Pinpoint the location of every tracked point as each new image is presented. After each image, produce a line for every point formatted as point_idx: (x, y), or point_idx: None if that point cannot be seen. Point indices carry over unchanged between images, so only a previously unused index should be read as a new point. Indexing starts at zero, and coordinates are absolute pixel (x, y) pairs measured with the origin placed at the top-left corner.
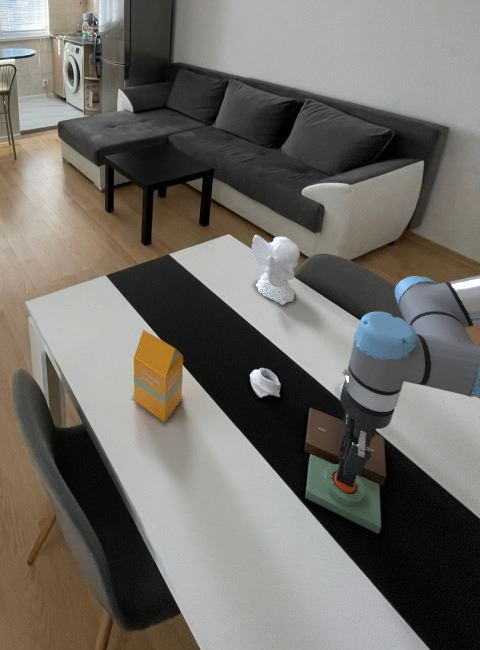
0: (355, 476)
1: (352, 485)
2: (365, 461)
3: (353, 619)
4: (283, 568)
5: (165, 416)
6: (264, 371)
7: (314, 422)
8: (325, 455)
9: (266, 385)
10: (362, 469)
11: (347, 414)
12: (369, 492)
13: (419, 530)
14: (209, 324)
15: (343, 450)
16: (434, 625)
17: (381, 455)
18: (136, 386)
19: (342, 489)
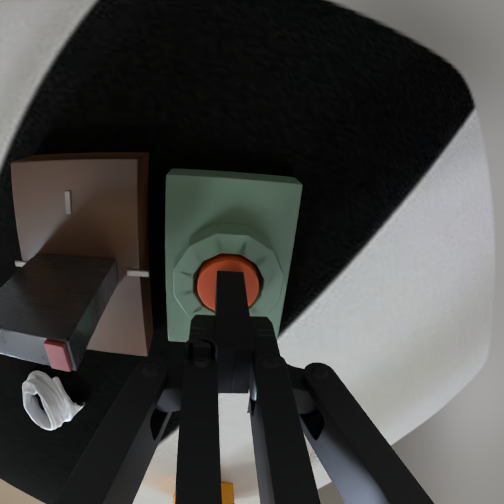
0: (247, 305)
1: (243, 277)
2: (424, 495)
3: (451, 244)
4: (404, 342)
5: (231, 493)
6: (32, 410)
7: None
8: (146, 304)
9: (60, 412)
10: (372, 424)
11: (34, 361)
12: (207, 204)
13: (239, 74)
14: (15, 444)
15: (115, 277)
16: (429, 104)
17: (69, 169)
18: None
19: (256, 292)
